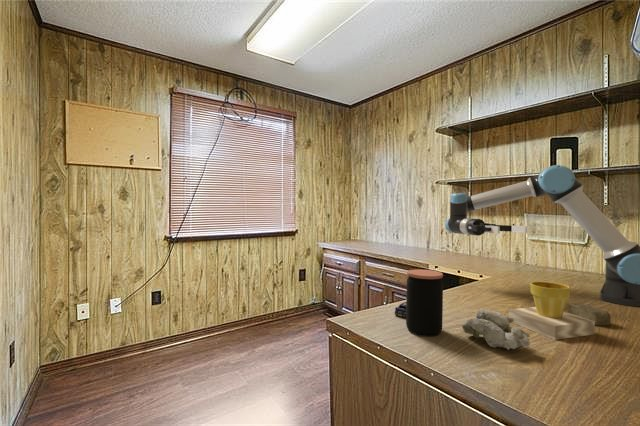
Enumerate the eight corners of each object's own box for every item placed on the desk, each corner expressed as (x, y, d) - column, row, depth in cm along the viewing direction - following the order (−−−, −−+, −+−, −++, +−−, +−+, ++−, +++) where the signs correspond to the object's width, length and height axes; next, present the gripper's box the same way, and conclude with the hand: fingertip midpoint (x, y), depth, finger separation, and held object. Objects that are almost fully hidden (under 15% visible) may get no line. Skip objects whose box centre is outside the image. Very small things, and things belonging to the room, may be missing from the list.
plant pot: (533, 317, 100) (534, 286, 100) (526, 308, 110) (527, 279, 110) (574, 322, 96) (575, 290, 96) (563, 312, 106) (563, 282, 106)
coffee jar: (441, 326, 103) (442, 270, 102) (442, 339, 93) (443, 277, 92) (407, 322, 106) (408, 268, 106) (404, 334, 96) (405, 274, 96)
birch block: (544, 317, 113) (544, 305, 113) (594, 334, 98) (594, 321, 98) (508, 321, 109) (508, 309, 109) (554, 339, 93) (555, 326, 93)
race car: (407, 307, 124) (407, 295, 124) (424, 310, 120) (424, 299, 120) (391, 317, 112) (391, 304, 112) (410, 322, 108) (410, 308, 108)
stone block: (596, 327, 104) (596, 311, 104) (565, 315, 116) (565, 302, 116) (612, 326, 105) (612, 311, 105) (579, 315, 116) (580, 301, 116)
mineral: (514, 354, 78) (526, 315, 80) (451, 328, 92) (462, 296, 95) (532, 366, 84) (543, 330, 86) (471, 340, 99) (481, 310, 101)
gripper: (494, 234, 150) (537, 238, 129) (449, 235, 143) (486, 239, 122) (495, 218, 150) (537, 220, 129) (449, 218, 143) (487, 220, 122)
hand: (512, 229), depth 126 cm, fingers open, 13 cm apart
